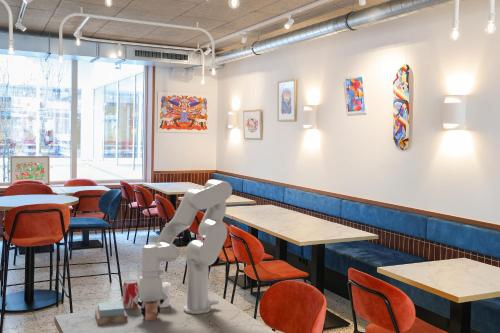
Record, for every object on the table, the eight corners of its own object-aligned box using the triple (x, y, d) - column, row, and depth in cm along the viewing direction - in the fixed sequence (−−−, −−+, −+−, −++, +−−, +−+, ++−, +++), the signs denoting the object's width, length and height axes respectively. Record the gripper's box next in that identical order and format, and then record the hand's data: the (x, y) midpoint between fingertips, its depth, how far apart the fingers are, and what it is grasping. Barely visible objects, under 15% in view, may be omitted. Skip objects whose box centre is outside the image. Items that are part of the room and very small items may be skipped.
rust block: (155, 315, 228) (155, 299, 227) (157, 319, 223) (157, 303, 223) (143, 316, 226) (143, 300, 226) (145, 320, 221) (145, 304, 221)
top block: (121, 307, 230) (121, 301, 230) (124, 315, 220) (124, 308, 220) (98, 309, 226) (98, 303, 226) (99, 317, 217) (99, 310, 217)
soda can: (134, 310, 234) (134, 284, 233) (119, 309, 235) (120, 282, 235) (140, 305, 241) (141, 279, 240) (126, 304, 242) (126, 278, 242)
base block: (123, 313, 231) (123, 307, 231) (127, 322, 220) (127, 315, 220) (95, 316, 227) (95, 309, 227) (97, 326, 216) (97, 318, 215)
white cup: (174, 304, 243) (174, 283, 242) (162, 309, 236) (162, 287, 235) (161, 301, 247) (161, 281, 246) (149, 306, 240) (149, 284, 240)
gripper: (168, 270, 230) (168, 310, 231) (129, 273, 224) (129, 314, 225) (172, 274, 223) (171, 316, 224) (131, 277, 217) (131, 320, 218)
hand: (150, 315), depth 224 cm, fingers closed on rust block, 5 cm apart
